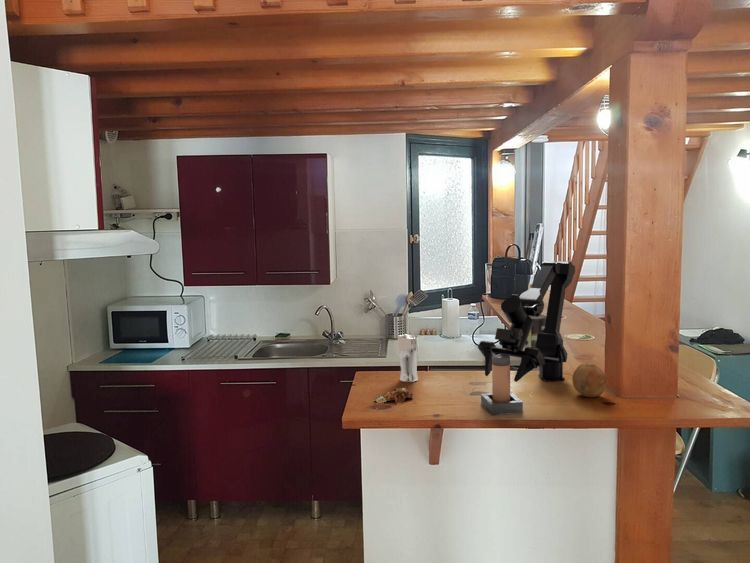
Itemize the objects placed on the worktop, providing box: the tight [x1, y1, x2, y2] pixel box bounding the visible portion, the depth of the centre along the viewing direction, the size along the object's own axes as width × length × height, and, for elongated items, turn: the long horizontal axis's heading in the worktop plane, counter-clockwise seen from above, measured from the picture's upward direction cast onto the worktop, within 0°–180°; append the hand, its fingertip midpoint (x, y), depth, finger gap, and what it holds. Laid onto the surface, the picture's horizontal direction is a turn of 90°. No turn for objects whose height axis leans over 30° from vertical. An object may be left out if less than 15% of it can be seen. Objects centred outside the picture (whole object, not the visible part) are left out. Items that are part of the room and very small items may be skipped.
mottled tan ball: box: [571, 362, 608, 398], centre depth 165 cm, size 10×10×10 cm
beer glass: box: [397, 333, 419, 383], centre depth 187 cm, size 7×7×15 cm
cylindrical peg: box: [491, 354, 511, 403], centre depth 158 cm, size 5×5×15 cm
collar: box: [480, 391, 524, 416], centre depth 159 cm, size 9×9×3 cm
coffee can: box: [523, 314, 546, 351], centre depth 217 cm, size 10×10×14 cm
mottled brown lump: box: [374, 387, 414, 403], centre depth 169 cm, size 7×12×4 cm, turn 116°
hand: (500, 378), depth 157 cm, fingers open, 9 cm apart
